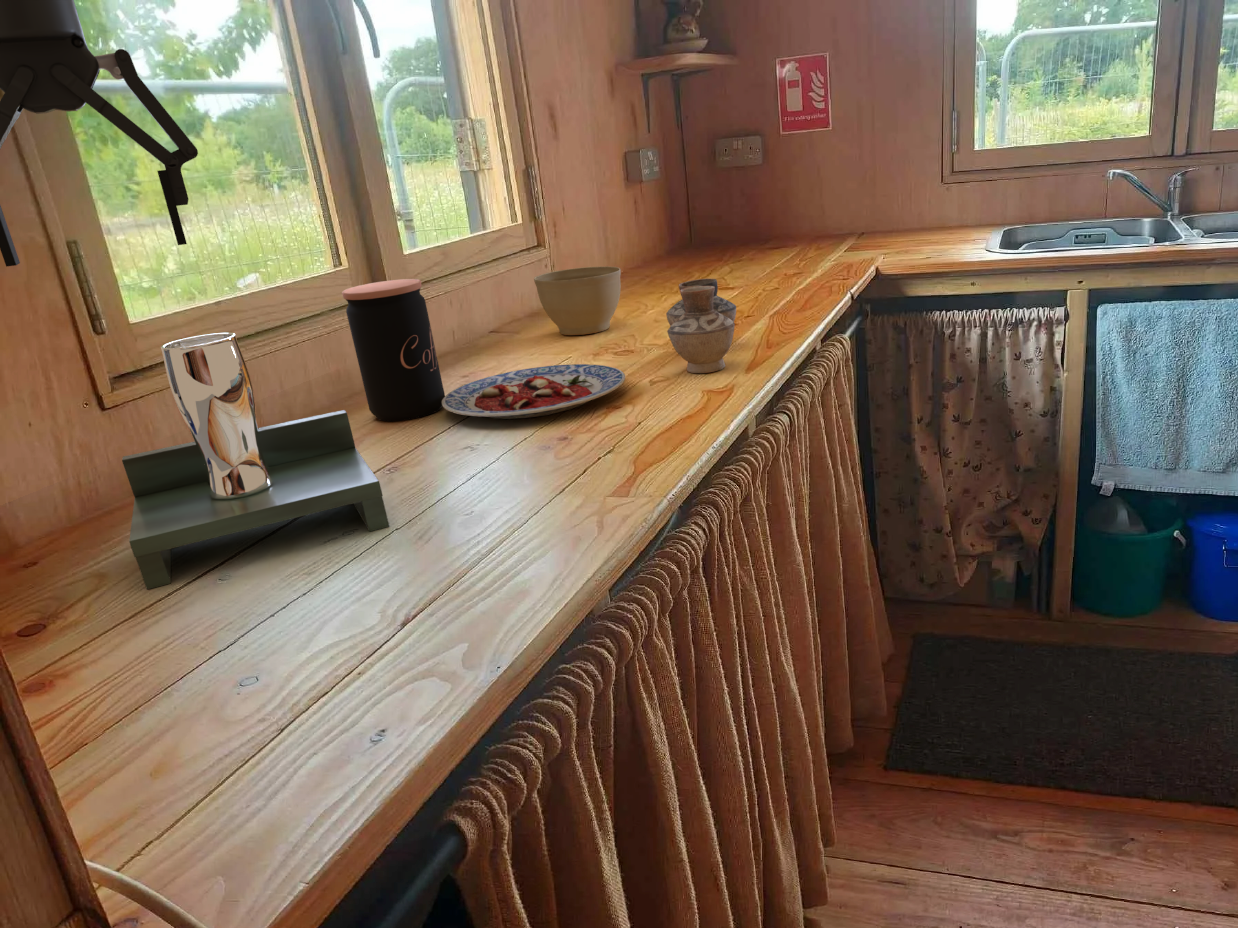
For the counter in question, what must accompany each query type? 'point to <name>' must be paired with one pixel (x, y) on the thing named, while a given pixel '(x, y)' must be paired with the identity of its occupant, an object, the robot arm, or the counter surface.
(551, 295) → the planter bowl
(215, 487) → the beer glass
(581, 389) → the ceramic plate
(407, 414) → the coffee jar
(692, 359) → the pottery
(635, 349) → the counter surface
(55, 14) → the robot arm
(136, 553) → the shelf
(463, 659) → the counter surface
